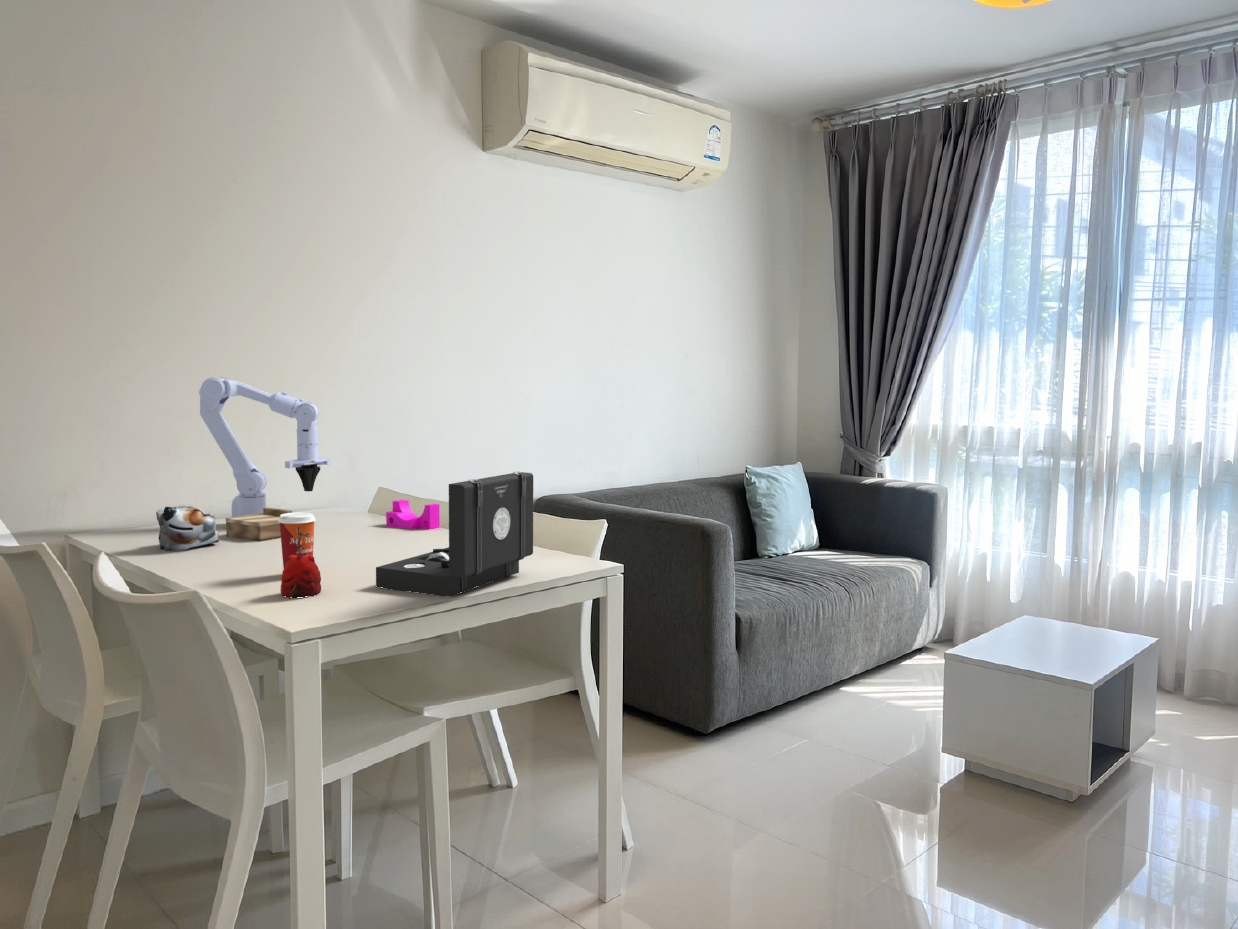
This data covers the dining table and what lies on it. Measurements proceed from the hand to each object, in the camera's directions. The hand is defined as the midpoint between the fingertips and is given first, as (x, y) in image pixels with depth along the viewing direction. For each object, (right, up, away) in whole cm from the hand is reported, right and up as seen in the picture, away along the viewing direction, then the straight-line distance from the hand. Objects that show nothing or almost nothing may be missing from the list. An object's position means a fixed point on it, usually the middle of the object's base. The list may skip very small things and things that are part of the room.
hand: (308, 491), depth 266 cm
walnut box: (-6, -12, -19) cm, 23 cm away
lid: (-6, -8, -19) cm, 21 cm away
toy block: (+31, -11, -2) cm, 33 cm away
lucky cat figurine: (-18, -14, -34) cm, 41 cm away
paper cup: (+21, -17, -68) cm, 74 cm away
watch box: (+54, -18, -72) cm, 92 cm away
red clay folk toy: (+28, -19, -86) cm, 93 cm away
